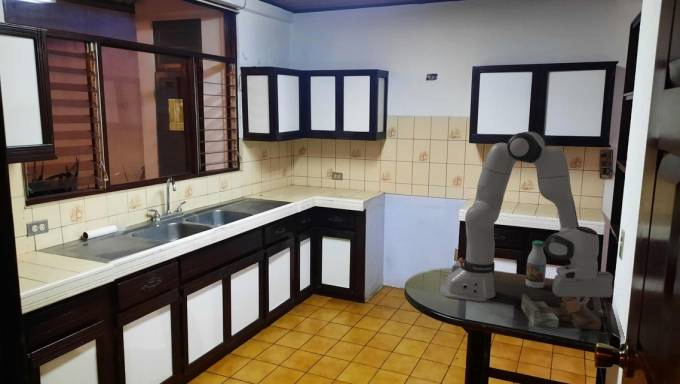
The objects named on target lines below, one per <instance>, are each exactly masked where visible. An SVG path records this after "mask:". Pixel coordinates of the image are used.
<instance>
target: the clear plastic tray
mask: <svg viewBox="0 0 680 384" xmlns="http://www.w3.org/2000/svg"><path fill="white" fill-rule="evenodd" d="M520 303H521V304H520V309H521V310H522V311H523V313H524V315H525V316H526V317H527V319H528V320H529V322H530V323H531V325H532V326H533V327H547V328H562V329H563V328H565V329H566V328H567V329H585V330H586V329H587V330H601V327H602V321H601V320H600V318H598V317H597V315H595V313H593V312H592V310H590V309H589V307H588V306H586V308H579V309H580V311H576V312H572V313H568V312H567V311H566V310H565V308H564V304H563V302H559V306H558V307H557V306H556V307H554V306H548V304H547V303H546V302H545V301H535V300H532V299H531V298H530V297H529V295H528V294H527V293H521V302H520Z"/></svg>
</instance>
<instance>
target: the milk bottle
mask: <svg viewBox="0 0 680 384" xmlns="http://www.w3.org/2000/svg"><path fill="white" fill-rule="evenodd" d="M544 243H545V241H542V240H533V241H532V249H531V251H530V253H529V255H528V257H527V261H526V262H527V263H526V274H525V285H526V286H527V287H529V288H533V289H543V288H544V287H545V283H546V274H547V273H546V272H547V257H546V255H545V252H544V248H545V247H544Z"/></svg>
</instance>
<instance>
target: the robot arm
mask: <svg viewBox="0 0 680 384" xmlns="http://www.w3.org/2000/svg"><path fill="white" fill-rule="evenodd" d="M517 162H522V163H529V164H534V167H535V169H536V178H537V185H538V190H539V193H540V196H542V197H543V198H544V199H546V200H548V201H549V202H551V203H552V204H554V206H555V208H556V210H557V213H558V219H559V225H560V226H559V227H560V229H559V232H555V233H553V234H551V235H549V236H548V237H546V239H545V240H544V247H543V248H544V250H545V252H546V254H547V256H549V257H551V258H552V259H554V260H569V261H570V263H569V264H567V265H563V266H559V267H557V268H556V269H555V270H556V271H555V272H556V275H555V276H554V278H553V283H552V293H553V294H554V296H556V297H559V298H564V297H575V298H576V299H577V302H578V305H579V308H586V307H587V304H588V302H589V301H590V299H591V298H612V296H613V291H614V290H613V282H614V276H613V274H612V273H611V272H609V271H598V267H599V263H598V256H599V253H600V252H599V251H600V250H599V248H600V240H599V235H598V232H597V231H596V230H595V229H593V228H591V227H587V226H580V225H579V222H578V216H577V211H576V205H575V204H576V203H575V200H574V195H573V191H572V186H571V178H570V177H571V176H570V169H569V165H568V161H567V157H566V153H565V151H564V150H563V149H562V148H561V147H560V148H559V147H556V146H547V141H546V140H545V138H544V136H543V135H541V134H540V133H539V132H535V131H523V132H517V133H516V134H514V135H512V136H511V137H510V138H509V140H508V141H507V143H506V142H498V143H494V144H493V145H492V146H491V147H490V150H489V151H488V153H487V155H486V157H485V160H484V162H483V165H482V169H481V172H480V176H479V177H478V178H479V179H478V182H477V185H476V186H477V187H476V193H475V198H474V202H473V204H472V206H470V207H469V208H468V209H467V211H466V213H465V218H464V223H465V234H466V251H465V253H466V254H465V255H466V256H465V258H462V257H459V258H458V261H459V263H461V267H460V268H459V269H457V270H456V271H454V272H452V271H451V273H449V274H448V276H447V278H446V281H445V283H442V284H441V285H440V287H439V290H440V293H441V294H442V295H443V296H444V297H445V298H451V299H459V300H467V301H477V302H485V301H487V300H489V299H492V298H494V297H495V296H496V292H495V291H496V290H495V286H494V275H495V265H496V264H495V261H494V259H495V245H496V243H495V235H494V233H495V231H494V230H495V229H494V227H495V223H496V222H497V220H498V219H499V216H500V214H501V209H502V206H503V202H504V198H505V193H506V191H507V187H508V183H509V182H510V181H509V180H510V178H511V174H512V171H513V169H514V166H515V163H517ZM581 298H583V300H582V301H580V300H581Z"/></svg>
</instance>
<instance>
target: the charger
mask: <svg viewBox="0 0 680 384" xmlns="http://www.w3.org/2000/svg"><path fill="white" fill-rule="evenodd" d="M460 267H461V263H459V260H457V261H456V262H455V263H454V264H453V265H452V267H451V273H452V272H454V271H456V270H457V269H459V268H460Z"/></svg>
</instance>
